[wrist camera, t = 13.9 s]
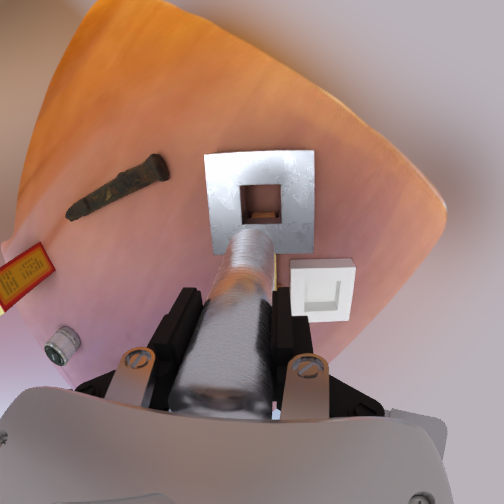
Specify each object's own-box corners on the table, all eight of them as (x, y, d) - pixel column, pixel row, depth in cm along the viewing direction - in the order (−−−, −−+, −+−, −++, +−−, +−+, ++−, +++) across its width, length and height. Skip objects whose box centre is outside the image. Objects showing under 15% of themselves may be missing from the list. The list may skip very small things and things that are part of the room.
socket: (307, 236, 39) (313, 253, 33) (222, 237, 40) (213, 254, 34) (307, 148, 34) (313, 150, 29) (215, 152, 35) (204, 154, 30)
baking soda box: (35, 283, 47) (-11, 323, 32) (21, 257, 45) (-28, 293, 30) (55, 270, 45) (4, 313, 30) (40, 241, 43) (-16, 278, 28)
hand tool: (163, 151, 36) (149, 153, 32) (172, 177, 37) (160, 182, 33) (71, 197, 39) (54, 204, 35) (79, 219, 41) (63, 227, 36)
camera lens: (79, 330, 51) (60, 352, 43) (83, 350, 53) (67, 372, 46) (58, 321, 50) (39, 341, 43) (63, 341, 53) (46, 361, 46)
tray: (344, 309, 43) (348, 320, 40) (289, 311, 44) (290, 322, 41) (350, 258, 40) (356, 267, 37) (290, 259, 40) (291, 268, 38)
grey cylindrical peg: (275, 271, 20) (272, 439, 8) (230, 272, 20) (181, 432, 8) (273, 227, 19) (271, 382, 7) (226, 229, 19) (156, 375, 7)
